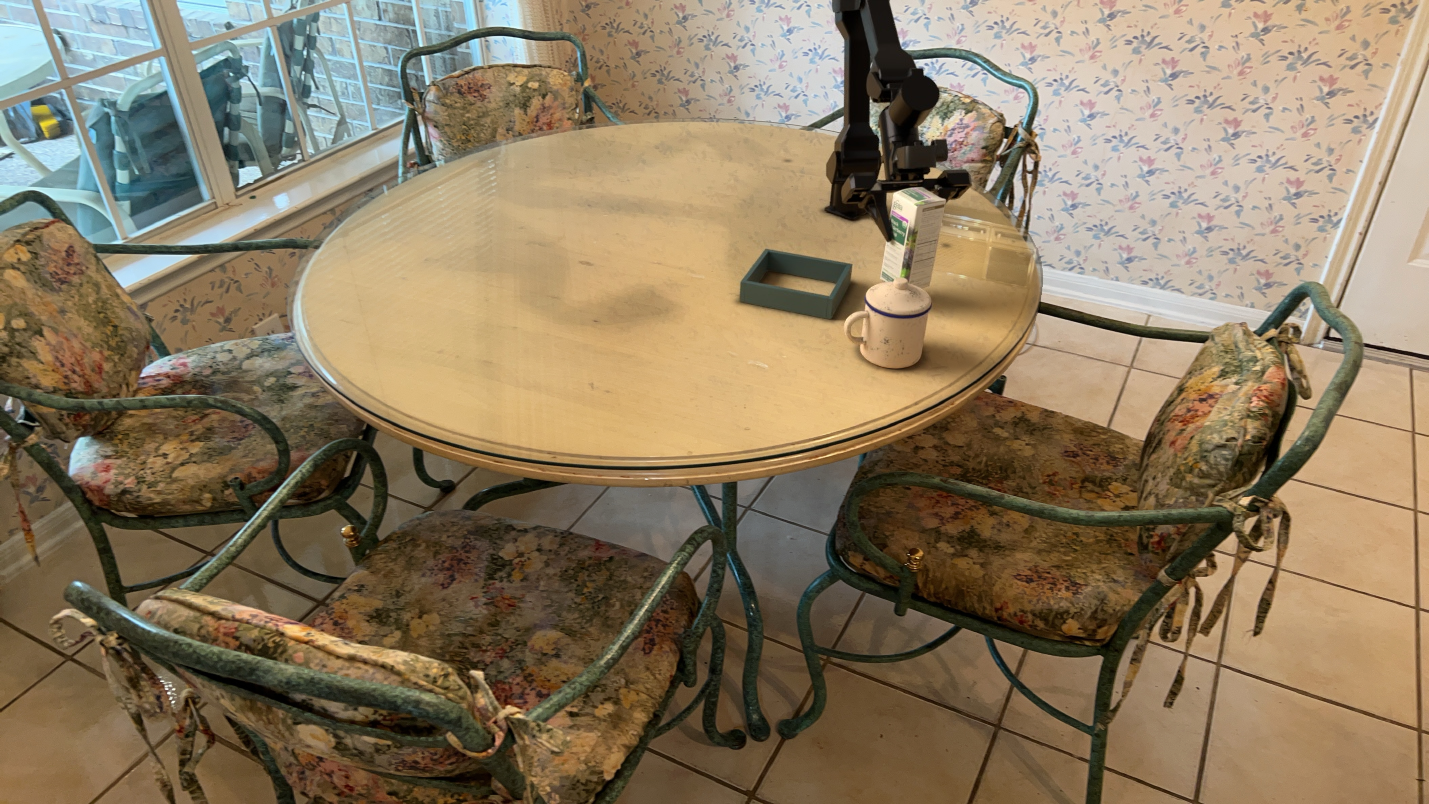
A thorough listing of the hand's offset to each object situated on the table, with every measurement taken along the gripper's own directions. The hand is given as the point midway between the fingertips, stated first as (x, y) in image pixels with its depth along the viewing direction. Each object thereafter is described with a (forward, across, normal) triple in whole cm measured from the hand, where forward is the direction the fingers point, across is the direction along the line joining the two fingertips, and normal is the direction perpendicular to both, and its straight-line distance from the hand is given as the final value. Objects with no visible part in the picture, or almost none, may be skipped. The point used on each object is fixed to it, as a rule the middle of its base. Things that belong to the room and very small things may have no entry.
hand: (912, 240), depth 135 cm
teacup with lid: (+18, -8, -4) cm, 20 cm away
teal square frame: (+4, -16, +10) cm, 20 cm away
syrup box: (+5, 0, +6) cm, 8 cm away
